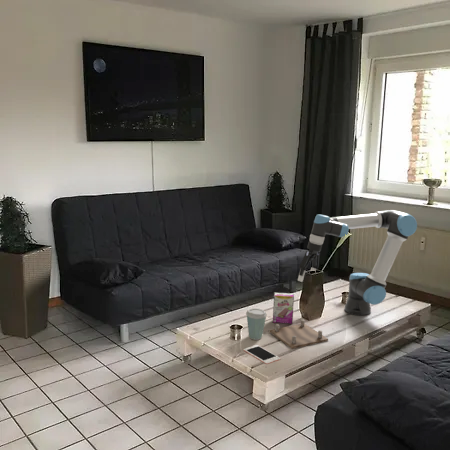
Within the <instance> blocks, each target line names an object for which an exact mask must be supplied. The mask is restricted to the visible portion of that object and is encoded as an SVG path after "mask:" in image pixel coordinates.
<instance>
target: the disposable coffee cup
mask: <svg viewBox="0 0 450 450" xmlns="http://www.w3.org/2000/svg"><path fill="white" fill-rule="evenodd" d="M245 314H246V321H247V331H248V337H249V339H251V340H253V341H254V340H255V341H256V340H257V341H258V340H261V338H262V337H263V334H264V329H265V324H266V319H267V316H268V314H267V312H266V310H264V309H261V308H248V310H247V311H246V313H245Z"/></svg>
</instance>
